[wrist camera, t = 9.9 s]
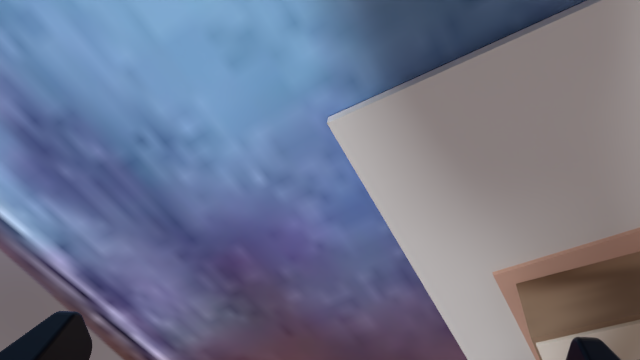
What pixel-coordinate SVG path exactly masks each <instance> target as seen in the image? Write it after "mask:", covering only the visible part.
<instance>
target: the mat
mask: <svg viewBox="0 0 640 360" xmlns="http://www.w3.org/2000/svg"><path fill="white" fill-rule="evenodd" d="M327 124H328V126H329V127H330V129H331V131H332V132H333V134H334V136H335V137H336V139H337V141H338V142H339V144H340V146H341V148H342V149H343V151H344V153H345V154H346V156H347V158H348V159H349V161H350V163H351V164H352V166H353V168H354V169H355V171H356V173H357V174H358V176H359V178H360V179H361V181H362V183H363V185H364V186H365V188H366V190H367V191H368V193H369V195H370V196H371V198H372V200H373V201H374V203H375V205H376V206H377V208H378V210H379V211H380V213H381V215H382V216H383V218H384V220H385V221H386V223H387V225H388V227H389V228H390V230H391V232H392V233H393V235H394V237H395V238H396V240H397V242H398V243H399V245H400V247H401V248H402V250H403V252H404V253H405V255H406V257H407V258H408V260H409V262H410V264H411V265H412V267H413V269H414V270H415V272H416V274H417V275H418V277H419V279H420V280H421V282H422V284H423V285H424V287H425V289H426V290H427V292H428V294H429V295H430V297H431V299H432V300H433V302H434V304H435V306H436V307H437V309H438V311H439V312H440V314H441V316H442V317H443V319H444V321H445V322H446V324H447V326H448V327H449V329H450V331H451V332H452V334H453V336H454V337H455V339H456V341H457V343H458V344H459V346H460V348H461V349H462V351H463V353H464V354H465V356H466V358H467V359H468V360H540V359H539V356H538V354H537V352H536V349H535V347H534V344H533V342H532V340H531V337H530V333H529V330H528V326H527V322H526V319H525V315H524V311H523V308H522V304H521V301H520V297H519V293H518V290H517V286H516V284H517V283H521V282H524V281H528V280H532V279H536V278H540V277H544V276H547V275H551V274H555V273H559V272H563V271H567V270H570V269H574V268H578V267H582V266H586V265H590V264H593V263H597V262H601V261H605V260H609V259H613V258H616V257H620V256H624V255H628V254H632V253H636V252H639V251H640V0H587V1H584V2H582V3H580V4H578V5H576V6H573V7H571V8H569V9H567V10H564V11H562V12H560V13H558V14H556V15H553V16H551V17H549V18H547V19H545V20H542V21H540V22H538V23H536V24H534V25H531V26H529V27H527V28H525V29H522V30H520V31H518V32H516V33H514V34H511V35H509V36H507V37H505V38H503V39H500V40H498V41H496V42H494V43H491V44H489V45H487V46H485V47H483V48H480V49H478V50H476V51H474V52H472V53H469V54H467V55H465V56H463V57H460V58H458V59H456V60H454V61H452V62H449V63H447V64H445V65H443V66H441V67H438V68H436V69H434V70H432V71H429V72H427V73H425V74H423V75H421V76H418V77H416V78H414V79H412V80H410V81H407V82H405V83H403V84H401V85H399V86H396V87H394V88H392V89H390V90H387V91H385V92H383V93H381V94H379V95H376V96H374V97H372V98H370V99H368V100H365V101H363V102H361V103H359V104H356V105H354V106H352V107H350V108H348V109H345V110H343V111H341V112H339V113H337V114H334V115H332V116H330V117H328V121H327Z"/></svg>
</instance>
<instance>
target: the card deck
mask: <svg viewBox="0 0 640 360" xmlns="http://www.w3.org/2000/svg"><path fill="white" fill-rule="evenodd" d="M516 286H517V290H518V293H519V297H520V301H521V304H522V308H523V311H524V315H525V319H526V322H527V326H528V330H529V333H530V337H531V340H532V342H533V344H534V347H535V349H536V352H537V354H538V356H539V359H540V360H566V357H567V354H568V351H569V348H570V344H571V342H572V340H573V339H574V338H575V337H594V338H598V339H600V340H602V341H603V342H604V343H605V344H606V345H607V346H608V347H609V348H610V349H611V350H612V351H613V352H614V353H615V354H616V355H617V356H618V357H619V358H620V359H621V360H640V251H639V252H636V253H632V254H628V255H624V256H620V257H616V258H613V259H609V260H605V261H601V262H597V263H593V264H590V265H586V266H582V267H578V268H574V269H570V270H567V271H563V272H559V273H555V274H551V275H547V276H544V277H540V278H536V279H532V280H528V281H524V282H521V283H517V284H516Z"/></svg>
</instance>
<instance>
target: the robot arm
mask: <svg viewBox="0 0 640 360" xmlns="http://www.w3.org/2000/svg"><path fill="white" fill-rule="evenodd" d="M91 351H92V340H91V337H90V335H89V333H88V330H87V327H86V325H85V322H84V320H83V317H82V315H81V314H79V313H78V312H70V311H59V312H56V313H54V314H53V315H51V316H50V317H48V318H47V319H45V320H44V321H43V322H41V323H40V324H38V325H37V326H36V327H34V328H33V329H32V330H30V331H29V332H27V333H26V334H25V335H23V336H22V337H20V338H19V339H18V340H16V341H15V342H14V343H12V344H11V345H9V346H8V347H6V348H5V349H4V350H2V351H1V352H0V360H89V358H90V355H91ZM566 360H621V359H620V358H619V357H618V356H617V355H616V354H615V353H614V352H613V351H612V350H611V349H610V348H609V347H608V346H607V345H606V344H605V343H604V342H603V341H602V340H600V339H598V338H594V337H575V338H574V339H573V340H572V342H571V344H570V348H569V351H568V354H567V357H566Z"/></svg>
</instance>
